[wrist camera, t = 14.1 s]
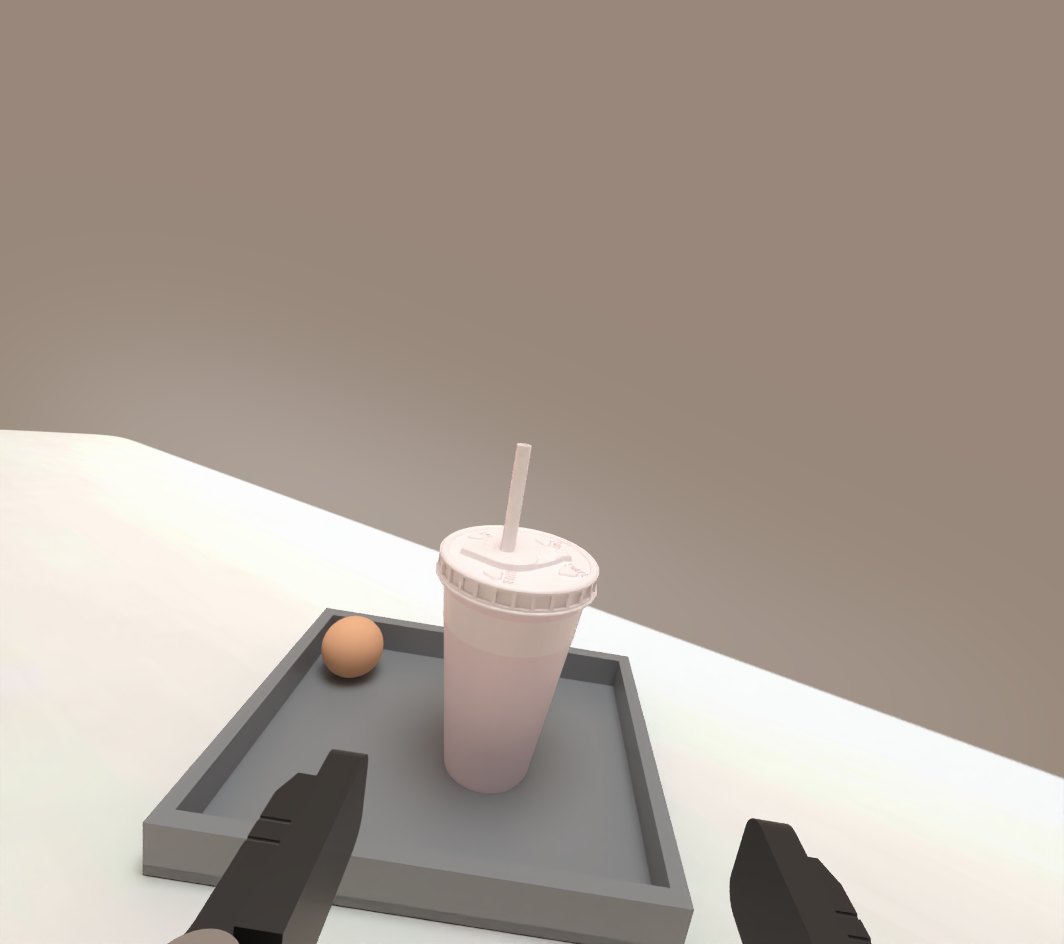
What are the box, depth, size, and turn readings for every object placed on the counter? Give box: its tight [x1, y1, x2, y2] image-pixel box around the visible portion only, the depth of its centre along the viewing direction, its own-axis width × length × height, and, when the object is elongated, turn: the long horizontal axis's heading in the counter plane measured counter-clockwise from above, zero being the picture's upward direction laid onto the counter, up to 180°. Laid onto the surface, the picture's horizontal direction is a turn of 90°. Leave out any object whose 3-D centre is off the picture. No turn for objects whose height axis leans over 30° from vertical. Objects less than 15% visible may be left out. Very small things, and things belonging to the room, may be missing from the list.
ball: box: [321, 616, 384, 678], centre depth 28 cm, size 3×3×3 cm
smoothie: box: [436, 443, 599, 794], centre depth 22 cm, size 6×6×14 cm
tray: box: [143, 608, 694, 944], centre depth 24 cm, size 17×14×2 cm
